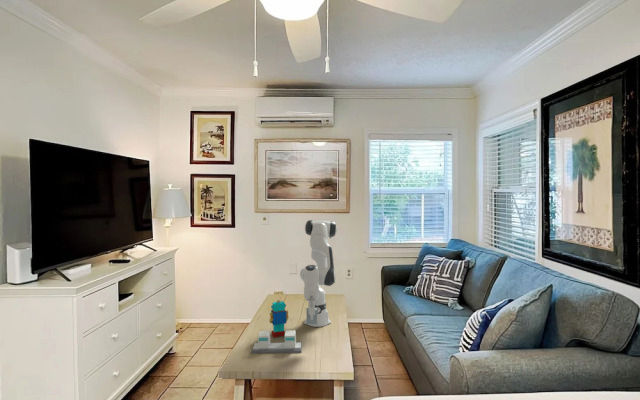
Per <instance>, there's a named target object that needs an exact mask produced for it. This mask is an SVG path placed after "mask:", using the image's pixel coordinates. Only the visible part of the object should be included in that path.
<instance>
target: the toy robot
mask: <svg viewBox="0 0 640 400" xmlns="http://www.w3.org/2000/svg"><path fill="white" fill-rule="evenodd" d="M279 297H280V296H279ZM286 307H287V304H286V303H285V302H284V300H283V301H281V297H280V299H276V301H274V302H272V305H271V310H270V312H269V316H270V318H269V324H272V327H273V329H272V331H270V335H271V337H272V338H277V337H285V331H286V330H285V324H287V321H288V320H289V310H287V309H286Z"/></svg>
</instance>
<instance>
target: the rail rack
mask: <svg viewBox="0 0 640 400" xmlns="http://www.w3.org/2000/svg"><path fill="white" fill-rule="evenodd" d="M284 331H285V336H284V342H271V330H260V331H259V333H258V336H257V342H254V343H253V346H252V349H251V354H285V353H286V354H287V353H288V354H290V353H291V354H293V353H295V354H297V353H299V354H300V353H302V349H303V348H302V347H303V346H302V345H303V342H301V341H300V342H297V334H296V333H297V332H296V331H297V330H295V329H293V330H290V329H289V330H284Z"/></svg>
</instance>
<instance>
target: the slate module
mask: <svg viewBox="0 0 640 400" xmlns="http://www.w3.org/2000/svg"><path fill="white" fill-rule="evenodd" d="M305 311H306V312H305V313H306V314H307V315H306V317H307V324H317V308H315V315H313V320H310V315H309V314H308V307H306V310H305ZM307 324H306V325H307Z"/></svg>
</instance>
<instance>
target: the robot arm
mask: <svg viewBox="0 0 640 400" xmlns="http://www.w3.org/2000/svg"><path fill="white" fill-rule="evenodd" d="M304 231H305V234H306V235H308V236H309V237H310V238H309V241H310V242H309V245H310V248H311V253H310V254H311V255H310V256H311V259H312V260H313V262H315V263H316V265H315V264H309V265H306V266H303V267H302V268H301V269H300V272H299V276H300V280H301V281H303V284H304V286H303V298H305V300H306V301H307V302H308V303H307V304H308V306H307V308H308V314H309V315H310V320H313V315H315V308H317V324H307V314H306V317H305V320H304V321H303V324H304V325H308V326H310V327H315V328H317V327H318V328H320V327H325V326H327V325H330V324H332V321H331V319H330V318H329V311H328V310H327V302H326V291H325V289H323V288H322V286H327V287H331V286H333V285H334V284H335V283H336V279H337V276H336V275H337V274H336V271H335V263H334V255H333V248H332V245H330V244H329V239H330V240H331V238H334V237H335V236H336V234H337V231H338V226H337V223H336V222H335V221H328V220H322V219H321V220H312V219H311V220H307V221H306V223H305V224H304ZM328 237H329V238H328Z"/></svg>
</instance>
